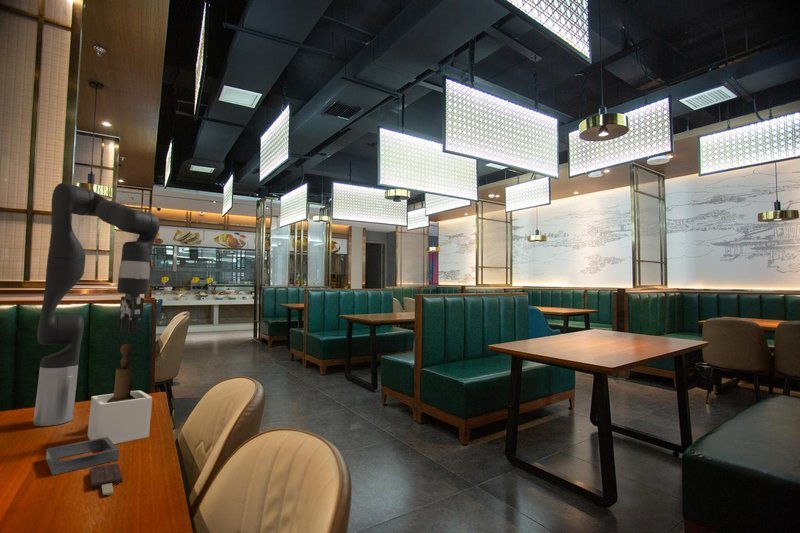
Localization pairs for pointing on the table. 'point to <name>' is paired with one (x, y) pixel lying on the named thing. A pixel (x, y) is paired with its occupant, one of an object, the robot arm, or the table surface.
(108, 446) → the low collar
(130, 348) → the mortar and pestle
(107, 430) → the box
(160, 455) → the table surface
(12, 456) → the table surface
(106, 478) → the ice cream bar
